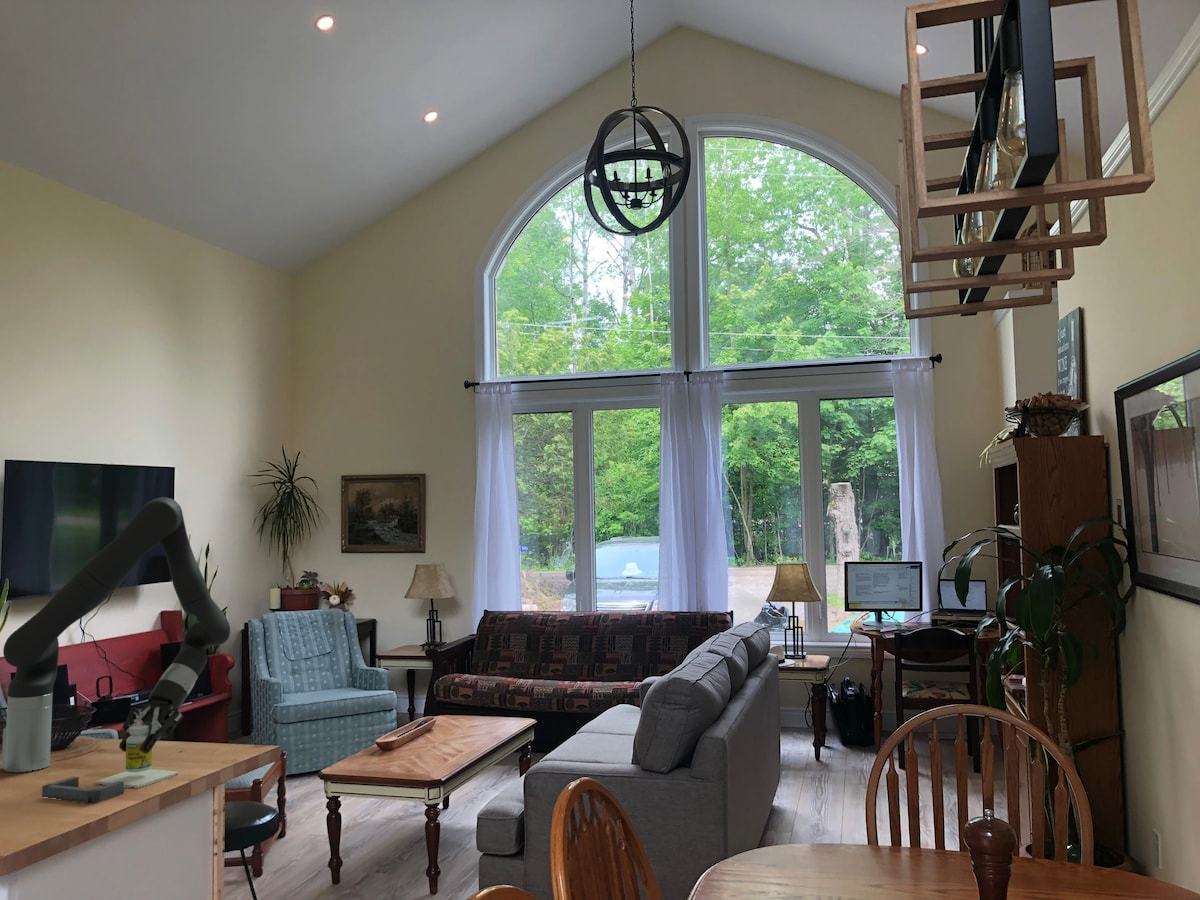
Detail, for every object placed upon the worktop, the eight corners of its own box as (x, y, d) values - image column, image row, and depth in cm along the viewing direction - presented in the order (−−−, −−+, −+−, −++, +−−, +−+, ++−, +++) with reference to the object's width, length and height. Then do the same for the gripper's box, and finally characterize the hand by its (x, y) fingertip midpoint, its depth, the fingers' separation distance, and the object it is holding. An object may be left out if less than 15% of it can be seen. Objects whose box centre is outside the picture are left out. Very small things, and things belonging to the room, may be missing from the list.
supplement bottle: (154, 765, 215) (155, 723, 216) (148, 771, 210) (149, 728, 210) (128, 767, 214) (130, 724, 214) (122, 773, 208) (123, 730, 209)
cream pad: (95, 784, 207) (95, 781, 208) (137, 770, 219) (137, 767, 219) (138, 788, 204) (138, 785, 204) (178, 774, 215) (178, 771, 215)
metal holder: (41, 798, 197) (42, 786, 197) (73, 788, 204) (73, 776, 205) (93, 804, 193) (94, 791, 193) (123, 793, 200) (123, 781, 200)
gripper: (141, 676, 222) (98, 739, 210) (190, 679, 218) (149, 743, 206) (157, 695, 227) (116, 757, 215) (205, 698, 223) (167, 762, 210)
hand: (133, 750), depth 210 cm, fingers closed on supplement bottle, 5 cm apart
